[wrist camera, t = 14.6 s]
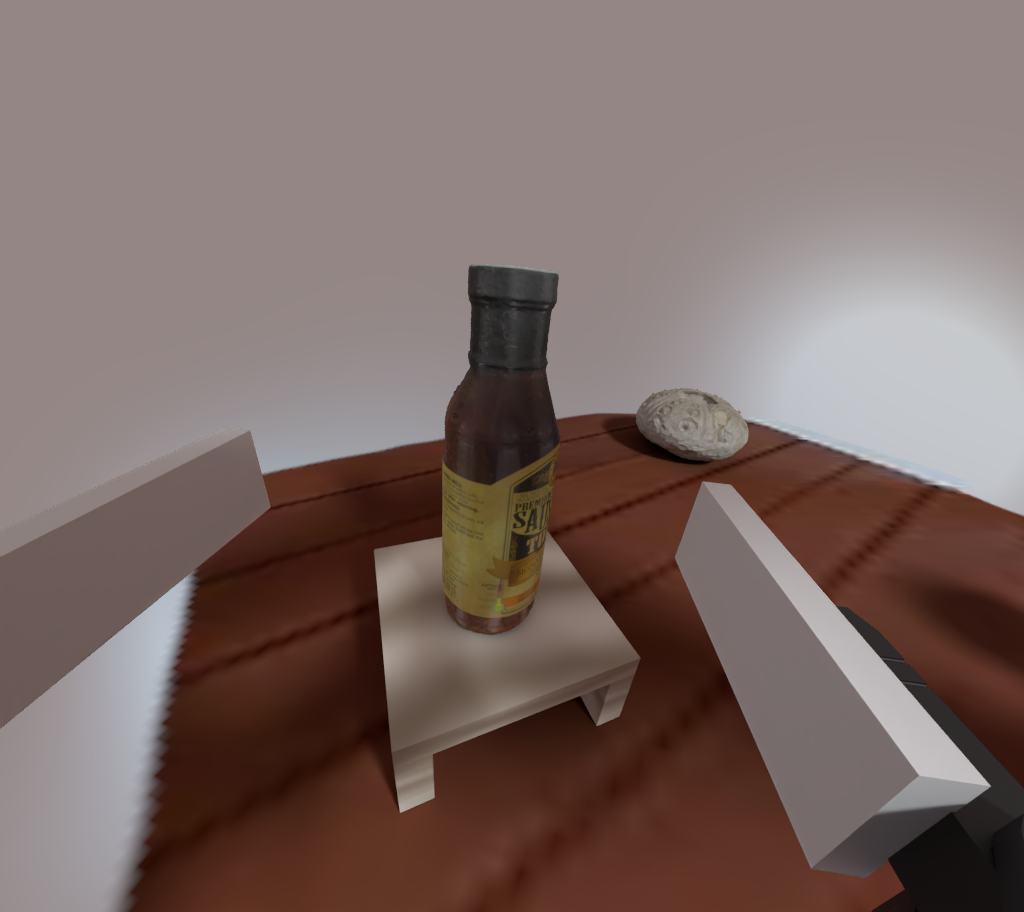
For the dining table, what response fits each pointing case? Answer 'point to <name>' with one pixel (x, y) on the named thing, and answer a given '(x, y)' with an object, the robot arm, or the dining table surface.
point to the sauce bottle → (500, 452)
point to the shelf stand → (487, 660)
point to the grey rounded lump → (692, 424)
